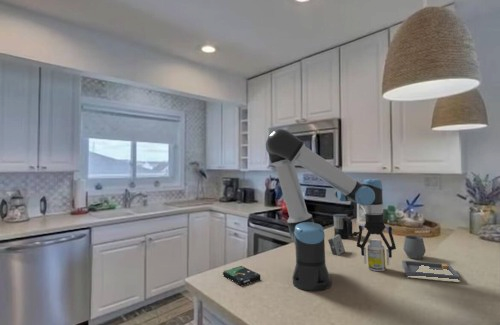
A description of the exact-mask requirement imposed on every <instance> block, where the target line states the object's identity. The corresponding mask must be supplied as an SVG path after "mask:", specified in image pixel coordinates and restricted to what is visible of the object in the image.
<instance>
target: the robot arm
mask: <svg viewBox="0 0 500 325" xmlns="http://www.w3.org/2000/svg"><path fill="white" fill-rule="evenodd" d="M265 149H266V151H267V153H268V156H269V161H270V163H271V165H273V167H275V169H276V173H277V176H278V180H279V184H280V188H281V191H282V195H283V199H284V203H285V206H286V209H287V213H288V216H289V217H288V219H287V220H286V222H287V226H288V229H289V236H290V239H291V241H292V242H293V244H294V247H295V266H294V270H293V272H292V273H293V274H292V285H293V286H294V287H296V288H298V289H301V290H305V291H310V292H316V291H317V292H320V291H323V290H324V291H325V290H327V289H329V288H330V287H331V285H332V282H331V281H332V279H331V276H330V273H329V270H328V267H327V265H326V251H325V250H326V245H325V242H326V241H325V236H326V235H325V230H324V227H323V226H322V225H321V224H319V223H316V222H314V217H313V214H311V213H309V212H308V208H307V205H306V202H305V198H304V195H303V190H302V187H301V183H300V180H299V176H298V172H297V169H296V166H295V163H296V164H298V165H299V166H301V167H302V168H303V169H305V170H307V171H308V172H309V173H311V174H313V175H315V176H316V177H317V178H319V179H320V180H322V181H323V182H324V183H326V184H328V185H329V186H331V188H334V190H336V195H337V199H338V201H340V202H351V203H355V204H358V205H360V206H364V212H365V217H364V218H365V223H364V224H359V225H358V229H359V231H358V232H359V234H358V235H357V241H356V242H357V243H356V247H358V248H360V253H361V256H363V258H364V259H363V260H364V264H365V265H367V250H366V247H365V246H366V244H367V242H368V240H369V238H370V237H371V235H380V237H381V240H383V243H384V245H385V246H386V265H387V267H388V266H389V267H390V258H392V257H393V256H392V254H393V253H392V252H393V250H396V249H397V246H396V244H395V239H394V236H393V232H392V231H393V227H392V226H391V225H385V222H384V221H385V220H384V219H385V218H384V203H383V202H384V201H383V199H384V198H383V184H382V180H381V179H379V178H367V179H363V183H361V182H359V181H357V180H356V179H354V178H353V177H352V176H350V175H348V174H347V173H346V172H344V171H342V170H341V169H340V168H338V167H337V166H336V165H334V164H332V163H331V162H330V161H328V160H327V159H325V158H323V157H322V156H320V155H319V154H318V153H316V152H315V151H313V150H312V149H311V148H309V147H307V146H306V144H305V142H304V141H303V140H301V139H300V138H298V137H297V136H296V135H294V134H293V133H291V131H288V130H286V129H284V128H283V129H282V128H280V129H276V130H275V129H274V130H273V131H272V132H271V133H269V136H267V139H266V142H265ZM364 229H366V230H367V233H366V235H365V236H364V238H363V240H362V234H363V230H364ZM384 230H386V231H387V232H388V236H389V239H390V243H389V241H388V239H387V238H386V236H385V234H384V232H383V231H384ZM361 240H362V242H361ZM390 244H391V245H390Z"/></svg>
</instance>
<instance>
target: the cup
mask: <svg viewBox="0 0 500 325" xmlns="http://www.w3.org/2000/svg"><path fill="white" fill-rule="evenodd" d="M403 243H404V244H403V251H404V252H405V254H406V256H407V257H408V258H410V259H413V260H421V259H423V258H424V256H425V254H426V246H425V243H424V238H423V237H422V236H419V235H405V237H404V242H403Z"/></svg>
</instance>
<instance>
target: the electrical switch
mask: <svg viewBox="0 0 500 325" xmlns="http://www.w3.org/2000/svg"><path fill="white" fill-rule="evenodd" d="M334 236H335V235H334ZM334 236H332V237H331V238H330V239H328V240H327V241H328V243H329V247H330V250H331V253H332V255H336V256H340V255H342V254H343V253H344V252H346V251H345V250H346V249H345V246H344V243H343V239H341V236H340V235H337V236H335V237H334Z"/></svg>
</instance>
